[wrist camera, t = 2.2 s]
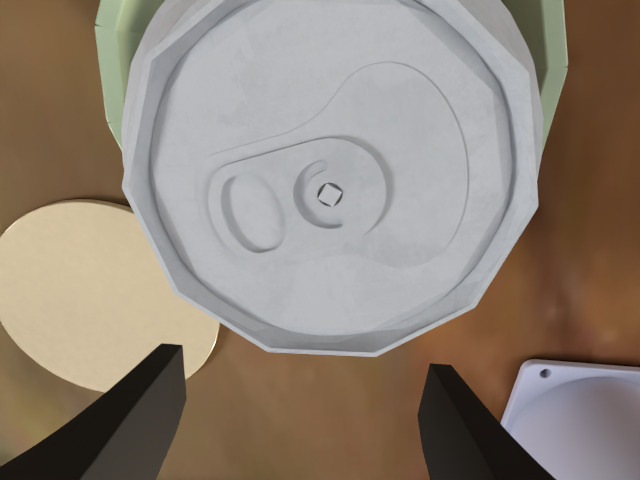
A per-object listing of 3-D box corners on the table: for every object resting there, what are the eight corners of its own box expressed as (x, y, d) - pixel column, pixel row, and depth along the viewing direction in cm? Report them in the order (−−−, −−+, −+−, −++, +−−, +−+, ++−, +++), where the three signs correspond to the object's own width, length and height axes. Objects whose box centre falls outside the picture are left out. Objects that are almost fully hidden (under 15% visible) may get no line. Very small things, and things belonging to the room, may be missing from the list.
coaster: (218, 209, 17) (216, 213, 17) (222, 396, 21) (220, 402, 21) (-33, 188, 17) (-41, 191, 16) (21, 380, 21) (16, 386, 21)
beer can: (408, 134, 16) (597, 342, 5) (285, 168, 16) (194, 421, 5) (381, -11, 14) (588, -236, 3) (242, 34, 14) (-38, -5, 3)
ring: (575, -134, 12) (646, -186, 10) (471, 265, 18) (497, 305, 15) (120, -178, 12) (59, -244, 9) (157, 240, 18) (125, 275, 15)
